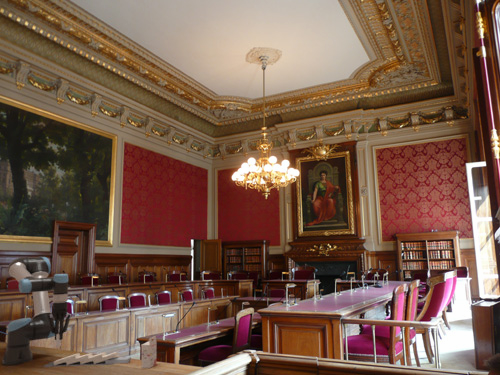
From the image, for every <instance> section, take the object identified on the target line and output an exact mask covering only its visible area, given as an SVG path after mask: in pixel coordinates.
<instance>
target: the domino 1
mask: <svg viewBox="0 0 500 375" xmlns="http://www.w3.org/2000/svg"><path fill="white" fill-rule="evenodd" d="M79 356H81V354H80V352H77V353H74V354H72V355H67V356H64V357H62V358H59V359H57V360H54V361H52V362H53V363H54V365H57V364H61V363H64V362H67V361H70V360H73V359H76V358H78V357H79Z"/></svg>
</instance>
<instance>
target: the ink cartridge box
mask: <svg viewBox="0 0 500 375" xmlns="http://www.w3.org/2000/svg"><path fill="white" fill-rule="evenodd" d="M140 346H141V369H151V368H152V367H154V366H155V365H157V336H156V335H154V336H152V337H150V338H149V339H148V341H146V342H145V343H141V345H140Z"/></svg>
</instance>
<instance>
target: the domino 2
mask: <svg viewBox="0 0 500 375" xmlns="http://www.w3.org/2000/svg"><path fill="white" fill-rule="evenodd" d="M92 356H94V355H93V352H90V353H86V354H83V355H80V356H79V357H78V358H76V359H73V360H70V361H67V362H66V363H67V365H69V364H72V363H75V362H79V361H82V360H85V359H89V358H90V357H92Z"/></svg>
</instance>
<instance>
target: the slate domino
mask: <svg viewBox="0 0 500 375" xmlns="http://www.w3.org/2000/svg"><path fill="white" fill-rule="evenodd" d="M131 360H132V357H131V356H121V357H120V356H116V357H114V358H111V359H108V360H106V361H105V364H113V363H115V364H128V363H130V361H131ZM113 365H114V364H113Z"/></svg>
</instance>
